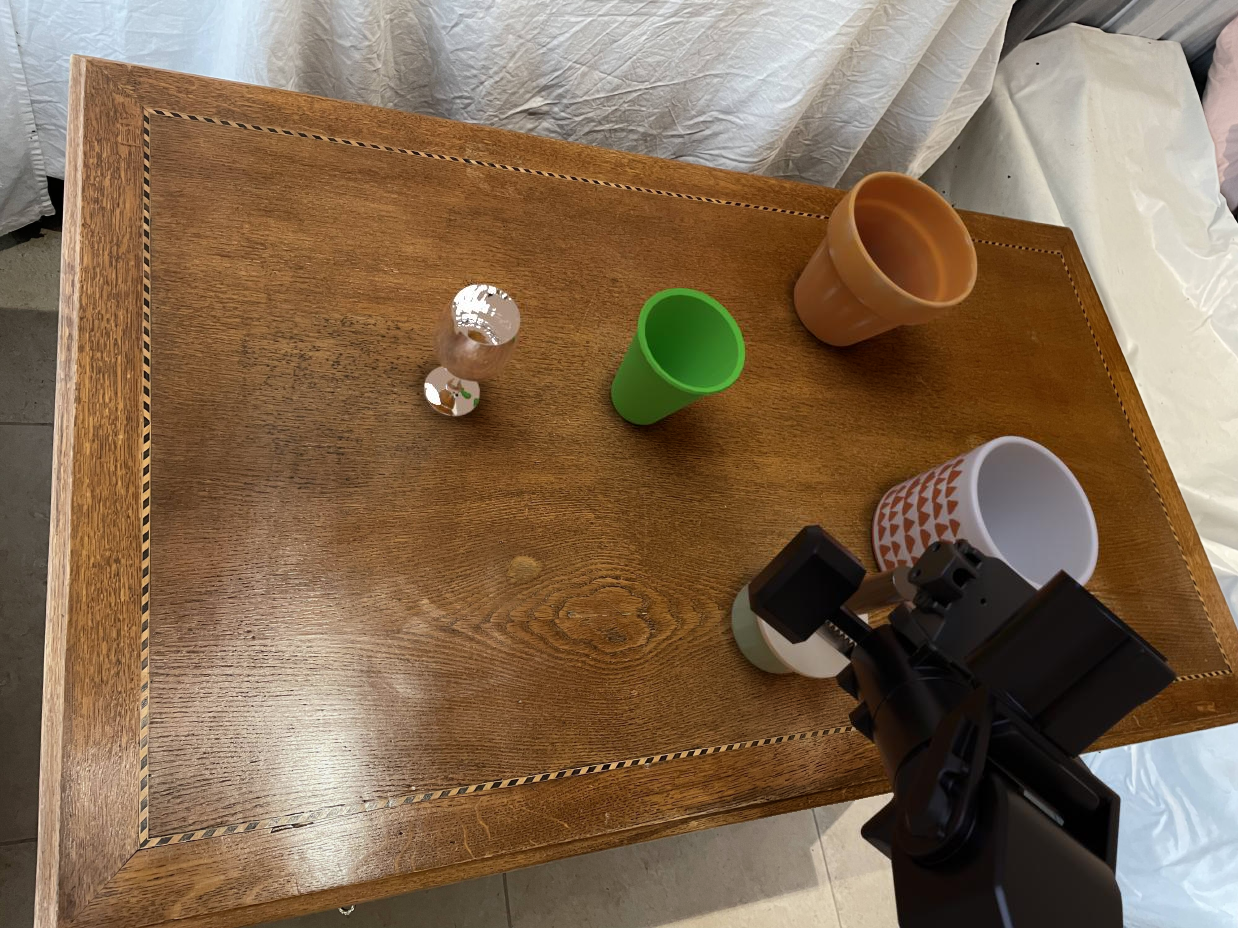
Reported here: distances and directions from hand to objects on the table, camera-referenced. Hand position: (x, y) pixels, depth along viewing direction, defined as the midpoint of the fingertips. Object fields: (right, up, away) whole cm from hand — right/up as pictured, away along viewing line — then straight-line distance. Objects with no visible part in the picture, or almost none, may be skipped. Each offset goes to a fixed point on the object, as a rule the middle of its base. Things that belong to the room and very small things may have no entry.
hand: (866, 601), depth 55 cm
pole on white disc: (-2, -2, +6) cm, 7 cm away
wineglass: (-31, +15, +8) cm, 35 cm away
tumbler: (-4, -4, +11) cm, 13 cm away
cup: (-16, +15, +14) cm, 26 cm away
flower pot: (+4, +26, +27) cm, 37 cm away
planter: (+12, +1, +21) cm, 24 cm away
